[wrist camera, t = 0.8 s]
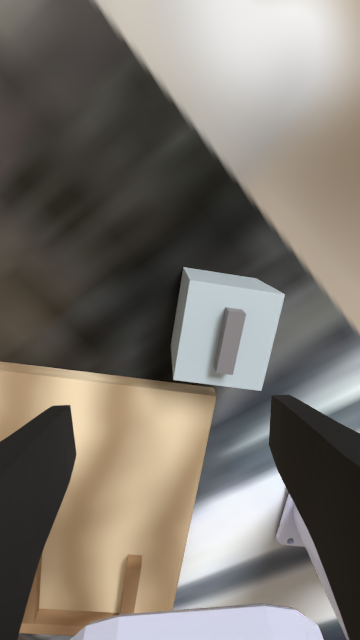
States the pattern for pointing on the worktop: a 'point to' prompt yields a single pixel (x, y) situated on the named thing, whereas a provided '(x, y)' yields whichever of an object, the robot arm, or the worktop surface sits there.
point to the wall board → (113, 491)
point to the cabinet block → (224, 329)
